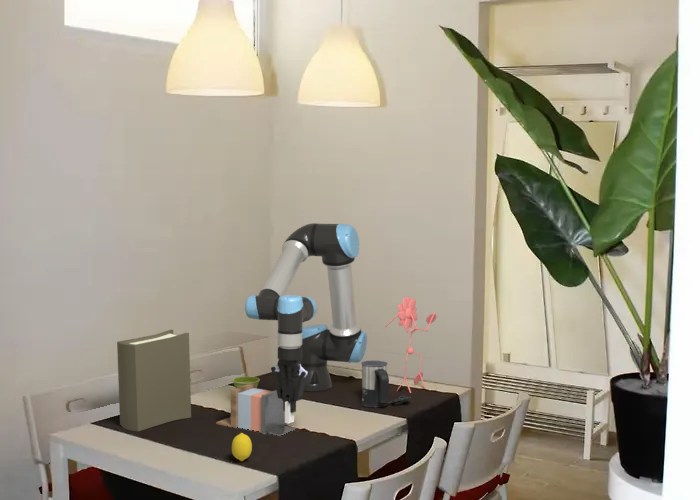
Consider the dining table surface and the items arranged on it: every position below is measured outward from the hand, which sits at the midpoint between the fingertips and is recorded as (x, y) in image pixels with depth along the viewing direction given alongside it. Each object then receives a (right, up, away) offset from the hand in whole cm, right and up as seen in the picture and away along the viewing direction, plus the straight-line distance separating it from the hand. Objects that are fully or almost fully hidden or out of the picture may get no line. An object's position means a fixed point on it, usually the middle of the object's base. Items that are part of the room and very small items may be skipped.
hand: (289, 422), depth 252 cm
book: (-44, -2, +11) cm, 45 cm away
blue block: (-12, -3, +8) cm, 15 cm away
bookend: (-3, -3, +2) cm, 5 cm away
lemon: (-11, -6, -25) cm, 28 cm away
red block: (-8, -3, +5) cm, 10 cm away
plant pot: (-18, -1, +33) cm, 38 cm away
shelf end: (-18, -2, +11) cm, 22 cm away
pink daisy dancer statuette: (+39, 0, +59) cm, 70 cm away
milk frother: (+31, -1, +35) cm, 47 cm away
